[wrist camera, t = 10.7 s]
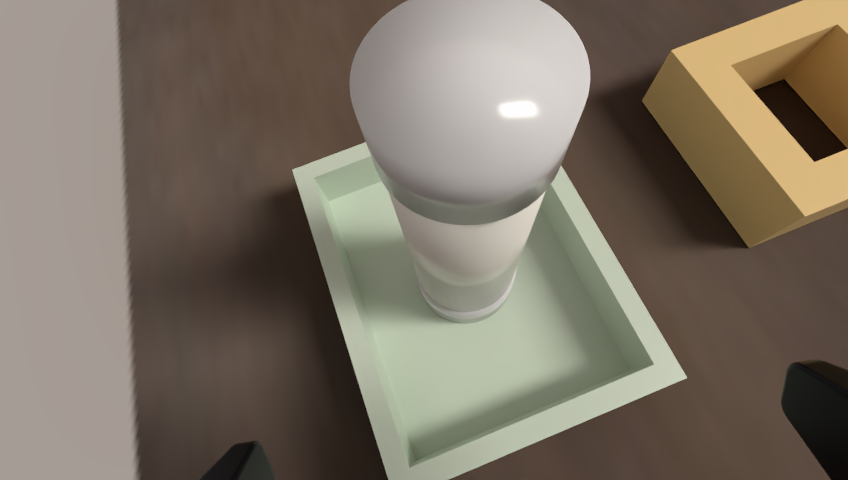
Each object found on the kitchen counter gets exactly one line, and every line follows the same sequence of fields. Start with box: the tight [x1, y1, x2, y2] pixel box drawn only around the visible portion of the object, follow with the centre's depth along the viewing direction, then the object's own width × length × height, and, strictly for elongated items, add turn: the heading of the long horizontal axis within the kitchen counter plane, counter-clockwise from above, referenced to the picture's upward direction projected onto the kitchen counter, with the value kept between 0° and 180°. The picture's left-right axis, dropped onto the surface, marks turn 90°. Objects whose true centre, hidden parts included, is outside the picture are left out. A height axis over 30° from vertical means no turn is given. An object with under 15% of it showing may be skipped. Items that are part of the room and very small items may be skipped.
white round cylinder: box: [349, 0, 590, 323], centre depth 14 cm, size 4×4×13 cm
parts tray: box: [292, 142, 687, 480], centre depth 19 cm, size 14×11×3 cm
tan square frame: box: [642, 0, 848, 248], centre depth 20 cm, size 9×9×4 cm
